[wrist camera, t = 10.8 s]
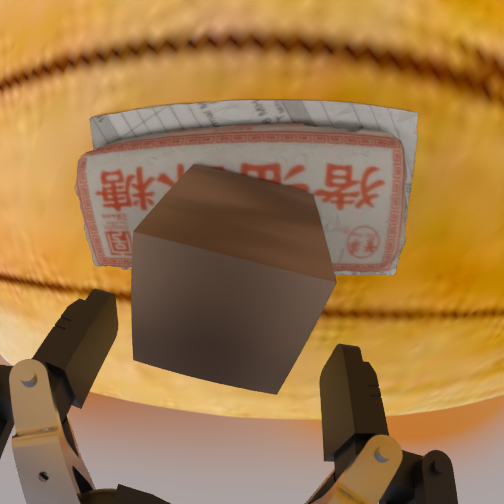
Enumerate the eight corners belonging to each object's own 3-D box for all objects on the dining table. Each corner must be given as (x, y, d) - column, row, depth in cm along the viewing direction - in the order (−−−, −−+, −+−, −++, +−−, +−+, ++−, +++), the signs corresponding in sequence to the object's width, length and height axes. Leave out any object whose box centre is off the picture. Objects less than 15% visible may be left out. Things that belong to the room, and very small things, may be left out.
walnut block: (313, 194, 13) (336, 282, 7) (279, 289, 15) (276, 394, 10) (193, 163, 12) (133, 231, 7) (177, 264, 15) (133, 359, 10)
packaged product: (94, 301, 17) (49, 130, 12) (125, 258, 21) (98, 114, 16) (413, 309, 15) (454, 122, 10) (389, 262, 20) (412, 109, 14)
